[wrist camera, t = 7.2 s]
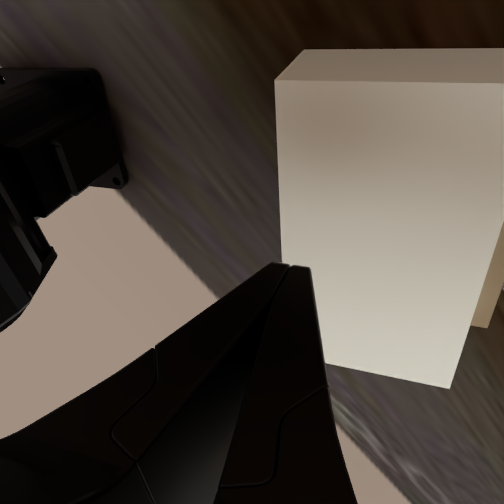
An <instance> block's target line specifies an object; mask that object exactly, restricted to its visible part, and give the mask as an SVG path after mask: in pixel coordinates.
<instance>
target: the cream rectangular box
mask: <svg viewBox="0 0 504 504" xmlns="http://www.w3.org/2000/svg"><path fill="white" fill-rule="evenodd" d="M274 81H275V105H276V129H277V153H278V177H279V201H280V225H281V249H282V263H286V264H289V265H290V266H292V265H300V266H307V267H310V269H311V272H312V279H313V286H314V292H315V299H316V306H317V312H318V319H319V326H320V332H321V339H322V346H323V352H324V359H325V363H328V364H333V365H338V366H342V367H347V368H352V369H357V370H362V371H366V372H371V373H376V374H381V375H385V376H390V377H395V378H400V379H405V380H409V381H414V382H419V383H424V384H429V385H433V386H438V387H443V388H448V389H450V386H451V383H452V380H453V376H454V373H455V370H456V367H457V364H458V361H459V358H460V355H461V352H462V349H463V346H464V342H465V339H466V336H467V333H468V330H469V327H470V324H471V321H472V318H473V315H474V312H475V308H476V305H477V302H478V299H479V296H480V293H481V290H482V287H483V284H484V281H485V277H486V274H487V271H488V268H489V265H490V262H491V259H492V256H493V253H494V250H495V247H496V243H497V240H498V237H499V234H500V231H501V228H502V225H503V222H504V48H451V49H304V50H303V51H302V52H301V53H300V54H299V55H298V56H297V57H296V58H295V59H294V60H293V61H292V62H291V64H290V65H289V66H288V67H287V68H286V69H285V70H284V71H283V72H282V73H281V74H280V75H279V76H278V77H277V78H276V79H275V80H274Z"/></svg>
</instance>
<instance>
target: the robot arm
mask: <svg viewBox="0 0 504 504" xmlns="http://www.w3.org/2000/svg"><path fill="white" fill-rule="evenodd" d="M88 77H89V78H90V79H91V81H92V84H91V83H90V82H89V80H88ZM3 78H4V79H5V80H4V79H3ZM117 178H118V179H119V180H120V182H119V181H118V180H117ZM127 183H128V178H127V175H126V171H125V167H124V164H123V160H122V156H121V152H120V149H119V145H118V141H117V138H116V134H115V130H114V127H113V123H112V119H111V116H110V112H109V108H108V105H107V101H106V97H105V94H104V90H103V86H102V83H101V79H100V77H99V75H98V73H97V72H96V71H94V70H93V69H90V68H0V332H2V331H3V330H4V329H6V328H7V327H8V326H10V325H11V324H12V323H13V322H14V321H16V320H17V319H18V318H19V317H20V315H21V314H22V313H23V311H24V310H25V309H26V307H27V306H28V305H29V303H30V302H31V299H32V297H33V296H34V294H35V292H36V291H37V289H38V287H39V286H40V284H41V283H42V281H43V279H44V278H45V276H46V274H47V273H48V271H49V270H50V268H51V266H52V264H53V263H54V261H55V260H56V258H57V254H56V252H55V250H54V248H53V247H52V246H50V245H49V243H48V241H47V240H46V238H45V236H44V234H43V232H42V231H41V229H40V227H39V225H38V223H37V221H36V220H37V219H39V218H40V217H42V218H45V217H47V216H49V215H50V214H51V213H52V212H54V211H55V210H56V209H58V208H59V207H60V206H61V205H63V204H64V203H65V202H66V201H68V200H69V199H70V198H72V197H73V196H77V195H79V194H80V193H81V192H82V191H84V190H85V189H86V188H87V187H89V186H93V187H104V188H112V189H122V188H123V187H124V186H125V185H127ZM328 388H329V385H328V379H327V372H326V366H325V359H324V352H323V346H322V339H321V332H320V326H319V319H318V312H317V306H316V299H315V292H314V286H313V279H312V272H311V269H310V267H307V266H300V265H292V266H290V265H289V264H286V263H280V262H271V263H269V264H268V265H267V266H265V267H264V268H262V269H261V270H260V271H258V272H257V273H256V274H254V275H253V276H251V277H250V278H249V279H247V280H246V281H244V282H243V283H242V284H240V285H239V286H237V287H236V288H235V289H233V290H232V291H230V292H229V293H228V294H226V295H225V296H223V297H222V298H221V299H219V300H218V301H217V302H215V303H214V304H212V305H211V306H210V307H208V308H207V309H205V310H204V311H203V312H201V313H200V314H199V315H197V316H196V317H194V318H193V319H192V320H190V321H189V322H187V323H186V324H185V325H183V326H182V327H180V328H179V329H178V330H176V331H175V332H174V333H172V334H171V335H169V336H168V337H166V338H165V339H164V340H162V341H161V342H159V343H158V344H157V345H155V349H154V348H151V349H150V350H148V351H147V352H145V353H144V354H143V355H141V356H140V357H138V358H137V359H136V360H134V361H133V362H131V363H130V364H128V365H127V366H125V367H124V368H122V369H121V370H119V371H118V372H117V373H115V374H113V375H112V376H110V377H109V378H107V379H105V380H104V381H102V382H101V383H99V384H97V385H96V386H94V387H92V388H91V389H89V390H88V391H86V392H84V393H83V394H81V395H79V396H77V397H76V398H74V399H73V400H71V401H69V402H67V403H66V404H64V405H62V406H61V407H59V408H57V409H56V410H54V411H52V412H50V413H49V414H47V415H46V416H44V417H42V418H40V419H39V420H37V421H35V422H34V423H32V424H30V425H28V426H27V427H25V428H23V429H21V430H20V431H18V432H16V433H13V434H11V435H10V436H7V437H5V438H2V439H0V504H358V503H357V500H356V497H355V494H354V491H353V488H352V484H351V481H350V478H349V474H348V471H347V468H346V465H345V461H344V457H343V454H342V450H341V446H340V443H339V439H338V436H337V431H336V426H335V420H334V415H333V410H332V404H331V397H330V391H329V389H328Z"/></svg>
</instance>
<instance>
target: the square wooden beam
mask: <svg viewBox="0 0 504 504" xmlns="http://www.w3.org/2000/svg"><path fill="white" fill-rule="evenodd" d="M503 283H504V222H503V225H502V228H501V231H500V234H499V237H498V240H497V243H496V247H495V250H494V253H493V256H492V259H491V262H490V265H489V268H488V271H487V274H486V277H485V281H484V284H483V287H482V290H481V293H480V296H479V299H478V302H477V305H476V308H475V312H474V315H473V318H472V321H471V324H470V325H471V326H477V327H483V328H488V325H489V322H490V319H491V317H492V314H493V311H494V308H495V305H496V303H497V300H498V297H499V294H500V291H501V289H502V286H503Z"/></svg>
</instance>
